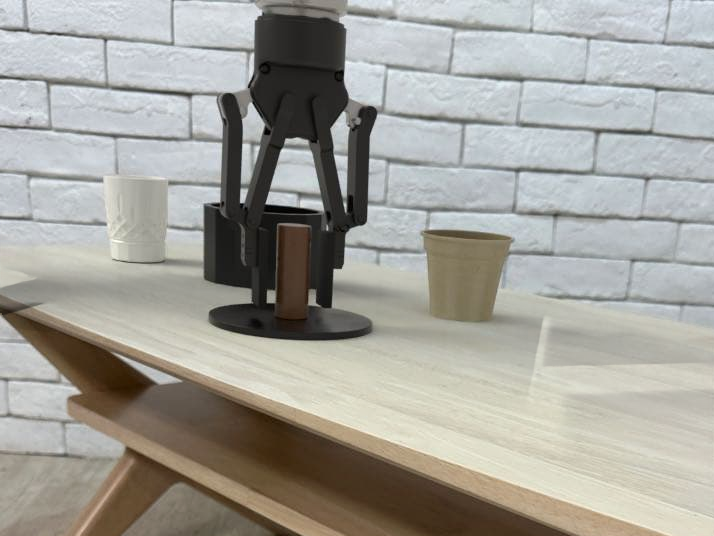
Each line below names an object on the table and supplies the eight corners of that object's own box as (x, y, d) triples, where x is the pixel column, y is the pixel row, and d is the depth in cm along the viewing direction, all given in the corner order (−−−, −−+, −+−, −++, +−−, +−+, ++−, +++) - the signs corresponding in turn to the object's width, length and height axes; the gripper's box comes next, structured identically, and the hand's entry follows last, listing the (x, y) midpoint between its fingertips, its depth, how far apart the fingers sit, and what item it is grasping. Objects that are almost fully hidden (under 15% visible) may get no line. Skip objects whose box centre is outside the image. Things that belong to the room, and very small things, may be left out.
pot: (177, 290, 107) (176, 207, 104) (233, 270, 125) (234, 199, 121) (300, 302, 105) (303, 219, 102) (339, 281, 123) (343, 209, 120)
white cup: (181, 262, 128) (181, 180, 124) (127, 264, 122) (125, 178, 119) (146, 254, 133) (145, 174, 129) (93, 256, 127) (90, 173, 123)
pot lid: (183, 335, 85) (183, 222, 81) (237, 309, 99) (239, 212, 95) (353, 353, 83) (359, 239, 80) (384, 325, 97) (391, 226, 93)
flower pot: (437, 330, 96) (445, 238, 93) (399, 313, 104) (405, 227, 101) (521, 330, 100) (532, 241, 97) (478, 313, 108) (487, 230, 105)
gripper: (196, -2, 75) (197, 311, 84) (421, 27, 81) (400, 313, 90) (180, 7, 81) (182, 296, 90) (390, 32, 88) (373, 299, 96)
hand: (291, 304), depth 90 cm, fingers open, 5 cm apart
